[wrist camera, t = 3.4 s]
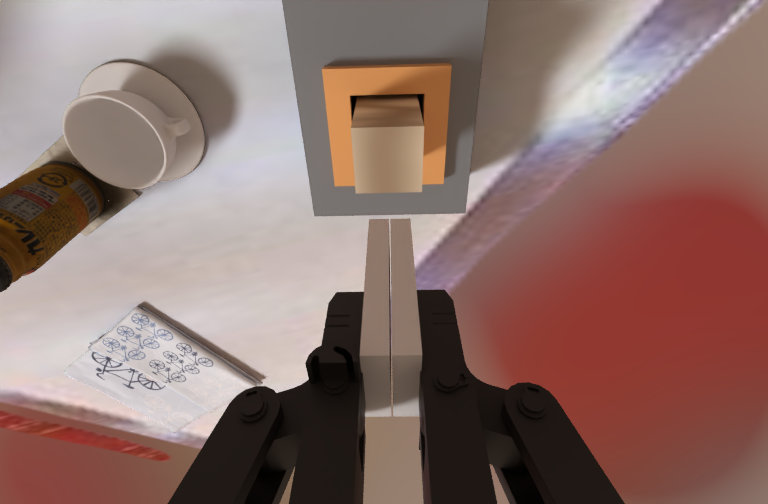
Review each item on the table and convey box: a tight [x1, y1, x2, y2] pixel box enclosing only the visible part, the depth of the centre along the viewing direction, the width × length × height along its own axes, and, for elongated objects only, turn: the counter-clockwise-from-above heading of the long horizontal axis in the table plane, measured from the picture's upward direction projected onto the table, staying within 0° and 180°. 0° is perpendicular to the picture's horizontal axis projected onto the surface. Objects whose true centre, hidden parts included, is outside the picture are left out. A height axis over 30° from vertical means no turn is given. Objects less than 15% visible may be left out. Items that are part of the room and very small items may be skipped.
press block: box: [282, 0, 489, 216], centre depth 26 cm, size 12×26×7 cm, turn 2°
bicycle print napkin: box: [64, 307, 261, 433], centre depth 53 cm, size 19×20×2 cm
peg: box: [351, 94, 424, 194], centre depth 25 cm, size 4×4×7 cm
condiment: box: [0, 135, 139, 292], centre depth 32 cm, size 7×8×12 cm
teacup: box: [62, 62, 205, 189], centre depth 32 cm, size 10×10×5 cm
